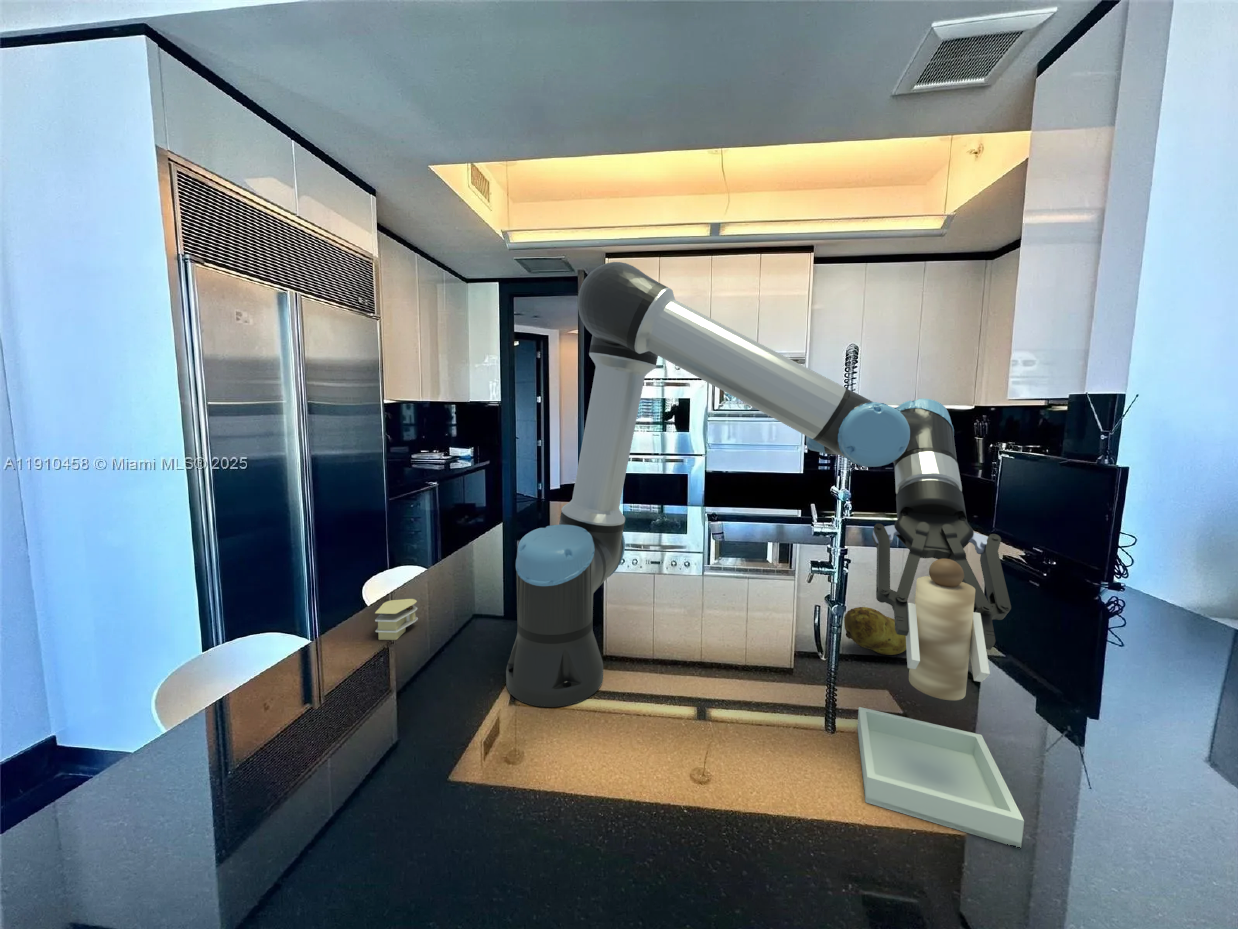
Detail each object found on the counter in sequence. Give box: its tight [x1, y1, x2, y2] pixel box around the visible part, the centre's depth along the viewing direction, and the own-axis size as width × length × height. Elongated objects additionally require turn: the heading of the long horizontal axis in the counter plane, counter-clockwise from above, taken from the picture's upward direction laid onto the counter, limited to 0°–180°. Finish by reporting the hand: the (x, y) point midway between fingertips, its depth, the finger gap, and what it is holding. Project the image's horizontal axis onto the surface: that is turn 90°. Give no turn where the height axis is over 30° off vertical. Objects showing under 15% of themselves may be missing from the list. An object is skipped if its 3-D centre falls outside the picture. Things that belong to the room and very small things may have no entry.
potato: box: [843, 606, 907, 656], centre depth 85 cm, size 8×13×8 cm, turn 88°
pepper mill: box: [908, 559, 975, 701], centre depth 53 cm, size 5×5×15 cm
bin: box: [856, 706, 1025, 849], centre depth 55 cm, size 14×14×3 cm
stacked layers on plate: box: [374, 598, 419, 641], centre depth 90 cm, size 10×9×6 cm
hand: (946, 670), depth 50 cm, fingers closed on pepper mill, 5 cm apart
